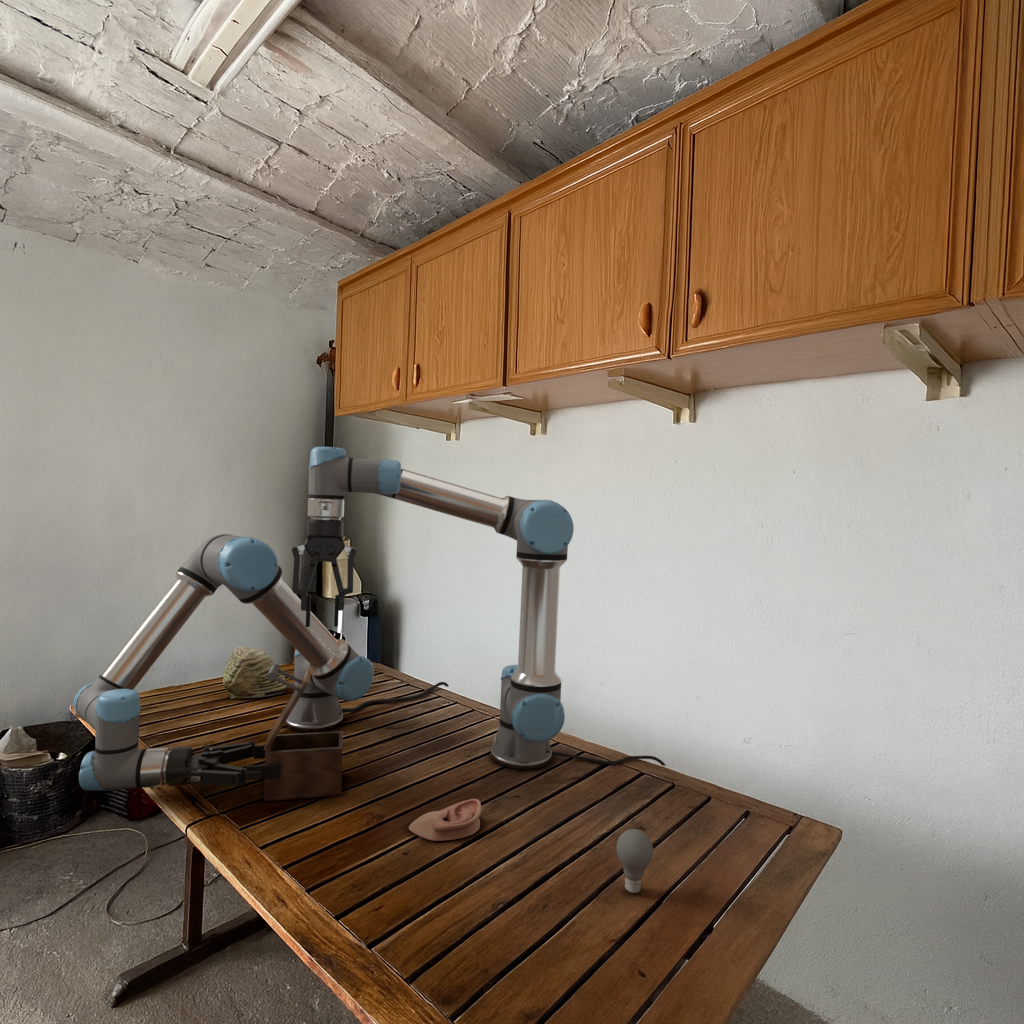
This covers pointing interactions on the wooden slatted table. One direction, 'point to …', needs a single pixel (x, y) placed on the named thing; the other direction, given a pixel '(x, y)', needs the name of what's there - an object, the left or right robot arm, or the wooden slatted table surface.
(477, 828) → the anatomical model
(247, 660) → the fossil
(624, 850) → the light bulb
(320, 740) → the chest
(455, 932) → the wooden slatted table surface
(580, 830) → the wooden slatted table surface
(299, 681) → the lid
